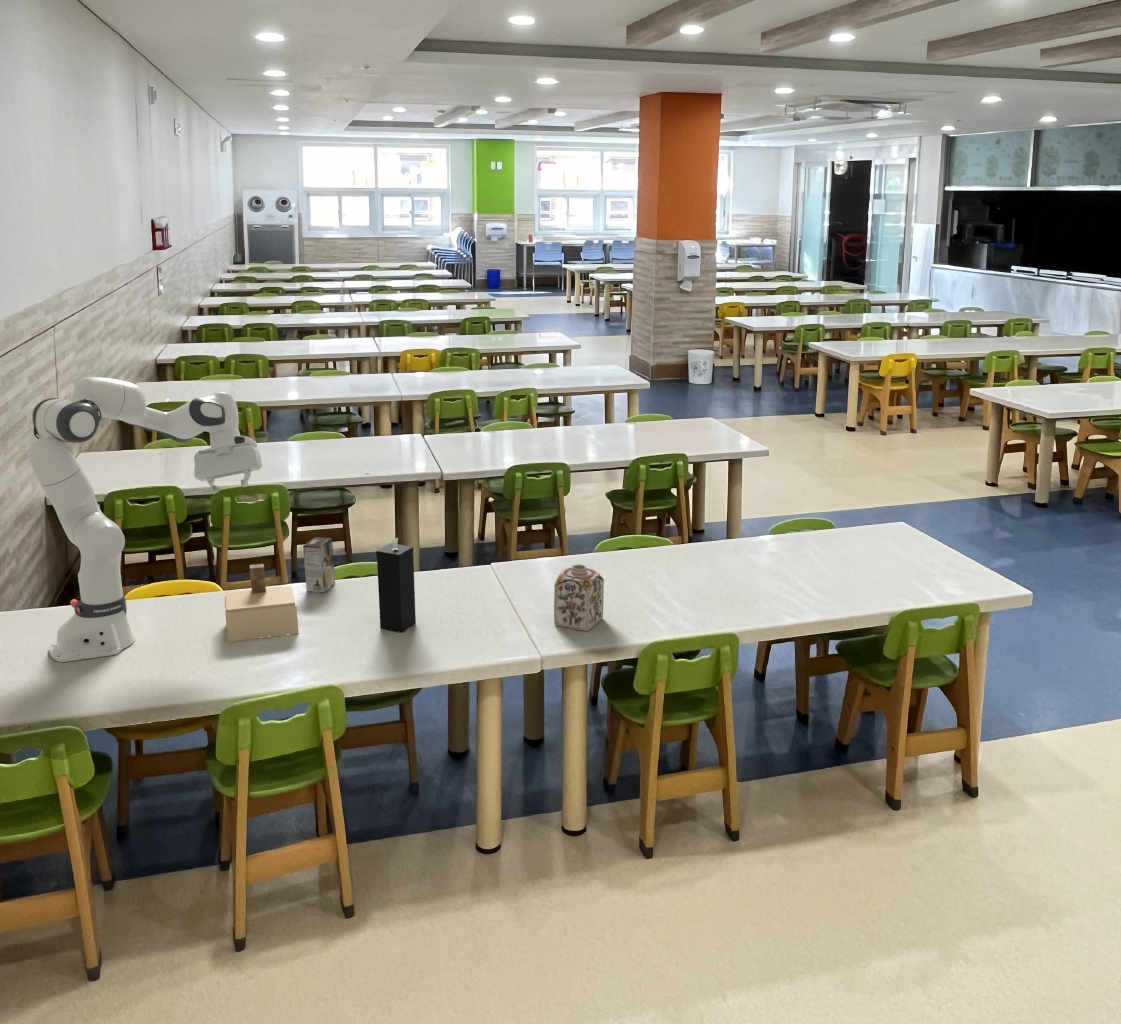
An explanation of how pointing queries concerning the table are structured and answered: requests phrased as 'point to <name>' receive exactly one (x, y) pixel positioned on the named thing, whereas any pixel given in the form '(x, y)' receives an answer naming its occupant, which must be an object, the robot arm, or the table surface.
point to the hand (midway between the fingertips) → (229, 489)
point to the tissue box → (396, 587)
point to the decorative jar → (578, 598)
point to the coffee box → (319, 564)
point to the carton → (261, 622)
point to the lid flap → (259, 594)
